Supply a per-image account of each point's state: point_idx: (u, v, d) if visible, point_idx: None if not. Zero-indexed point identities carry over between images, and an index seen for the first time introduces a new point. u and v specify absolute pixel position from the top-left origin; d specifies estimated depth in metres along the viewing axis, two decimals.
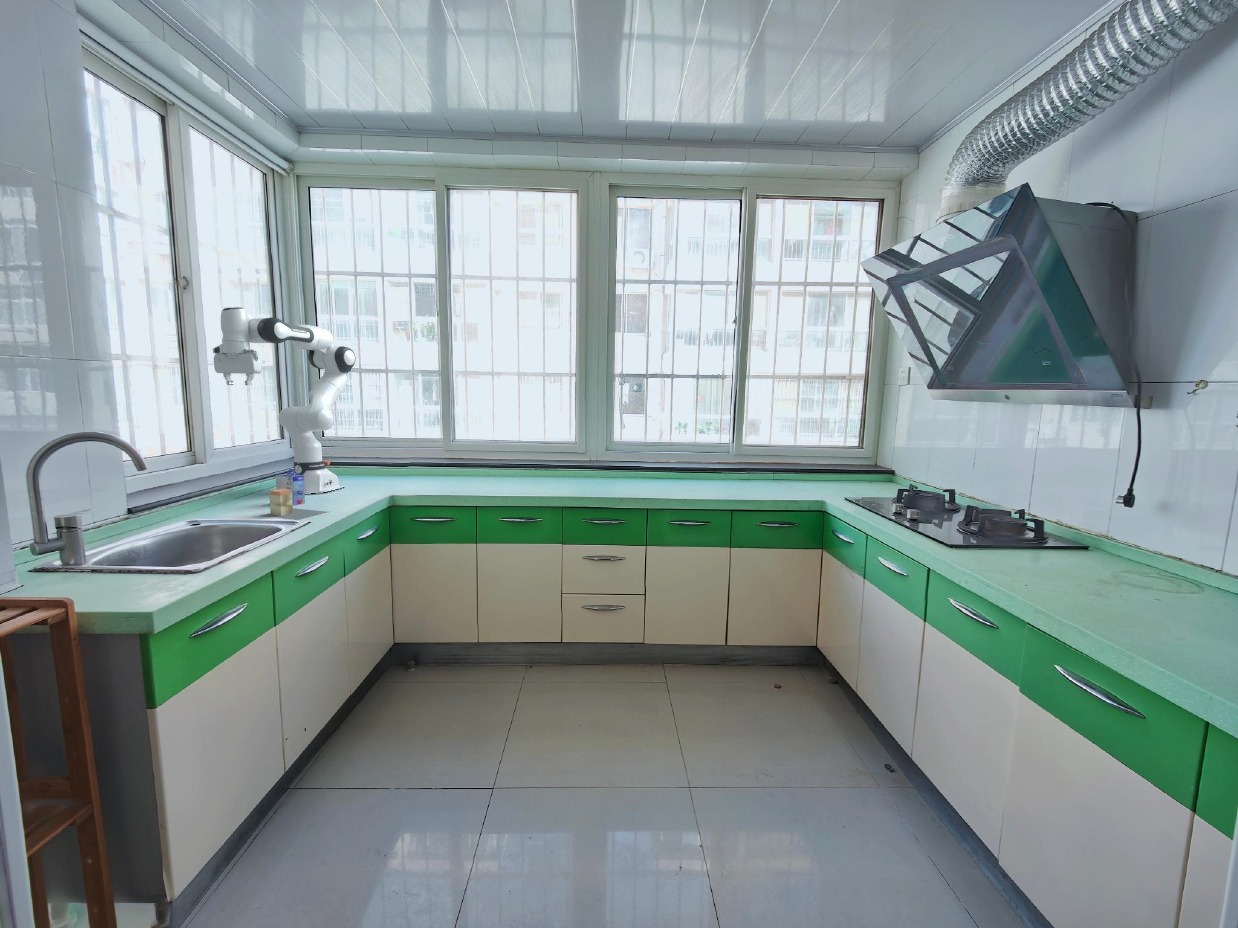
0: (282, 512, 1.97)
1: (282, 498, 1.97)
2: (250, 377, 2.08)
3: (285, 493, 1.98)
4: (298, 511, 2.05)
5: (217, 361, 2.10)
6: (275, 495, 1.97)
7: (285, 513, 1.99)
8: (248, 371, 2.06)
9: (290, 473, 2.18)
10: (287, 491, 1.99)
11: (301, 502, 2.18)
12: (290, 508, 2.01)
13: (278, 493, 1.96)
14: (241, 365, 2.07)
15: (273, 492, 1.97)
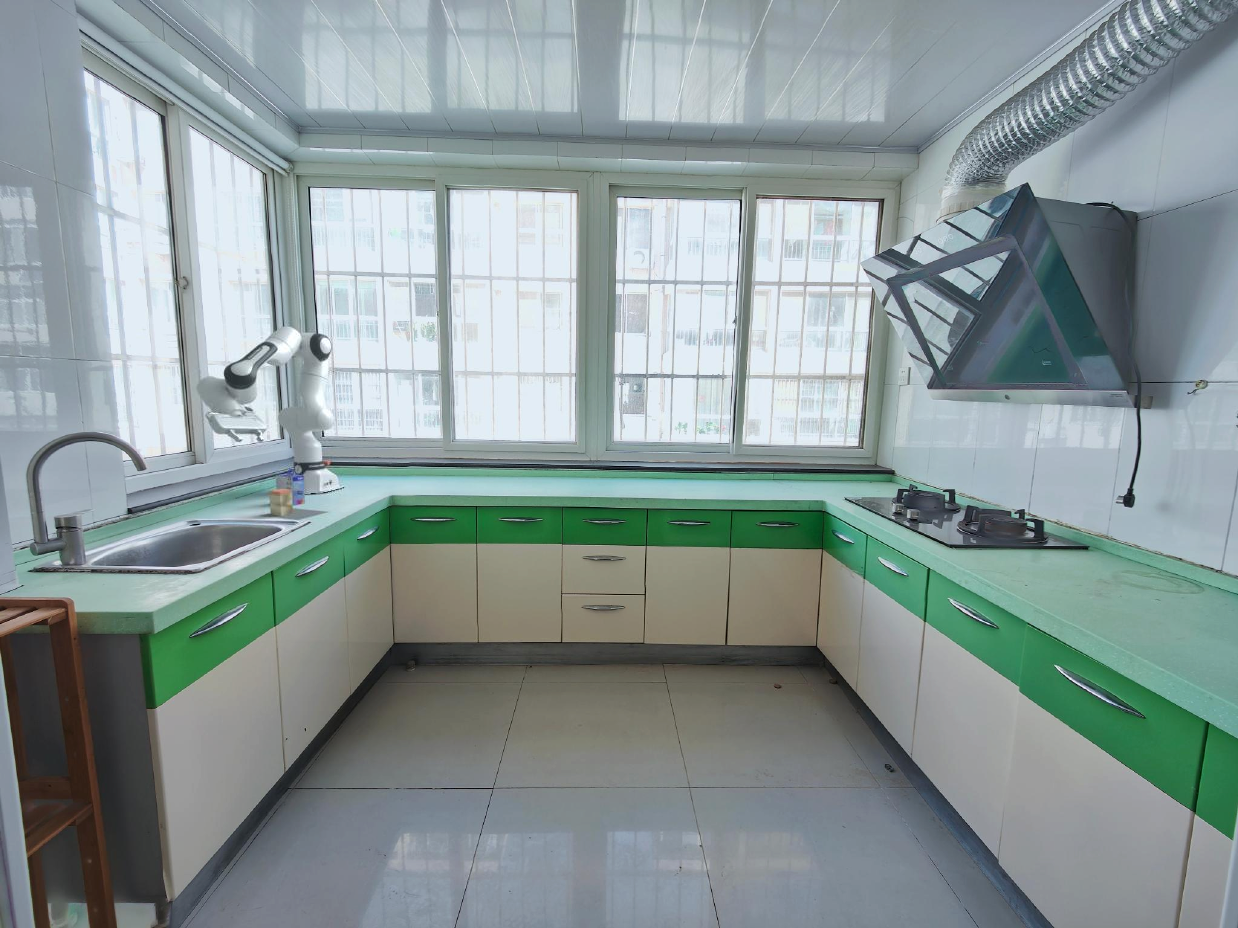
0: (282, 512, 1.97)
1: (282, 498, 1.97)
2: (230, 435, 1.94)
3: (285, 493, 1.98)
4: (298, 511, 2.05)
5: None
6: (275, 495, 1.97)
7: (285, 513, 1.99)
8: None
9: (290, 473, 2.18)
10: (287, 491, 1.99)
11: (301, 502, 2.18)
12: (290, 508, 2.01)
13: (278, 493, 1.96)
14: None
15: (273, 492, 1.97)
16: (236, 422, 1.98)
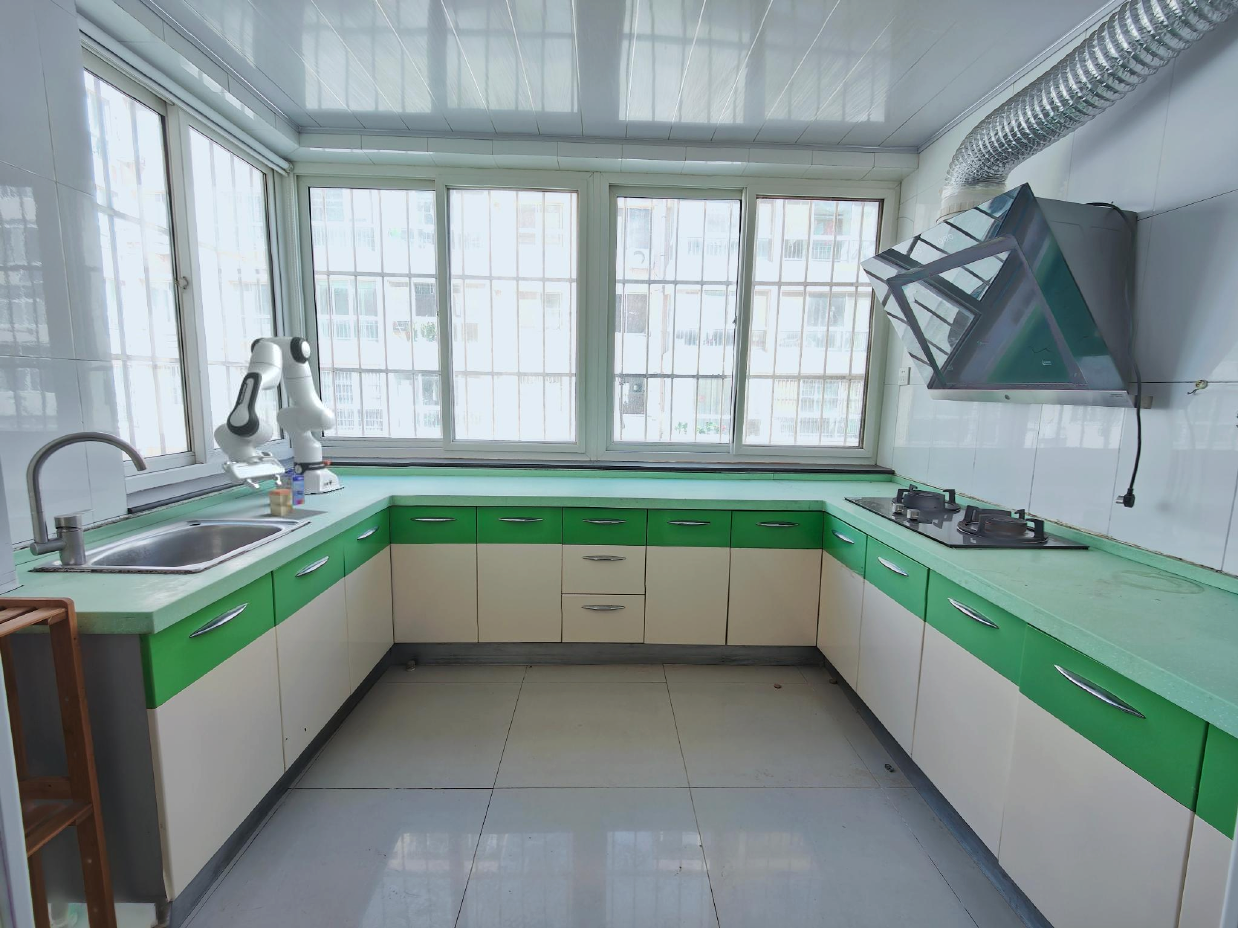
0: (282, 512, 1.97)
1: (282, 498, 1.97)
2: (247, 484, 1.94)
3: (285, 493, 1.98)
4: (298, 511, 2.05)
5: None
6: (275, 495, 1.97)
7: (285, 513, 1.99)
8: None
9: (290, 473, 2.18)
10: (287, 491, 1.99)
11: (301, 502, 2.18)
12: (290, 508, 2.01)
13: (278, 493, 1.96)
14: None
15: (273, 492, 1.97)
16: (253, 470, 1.98)
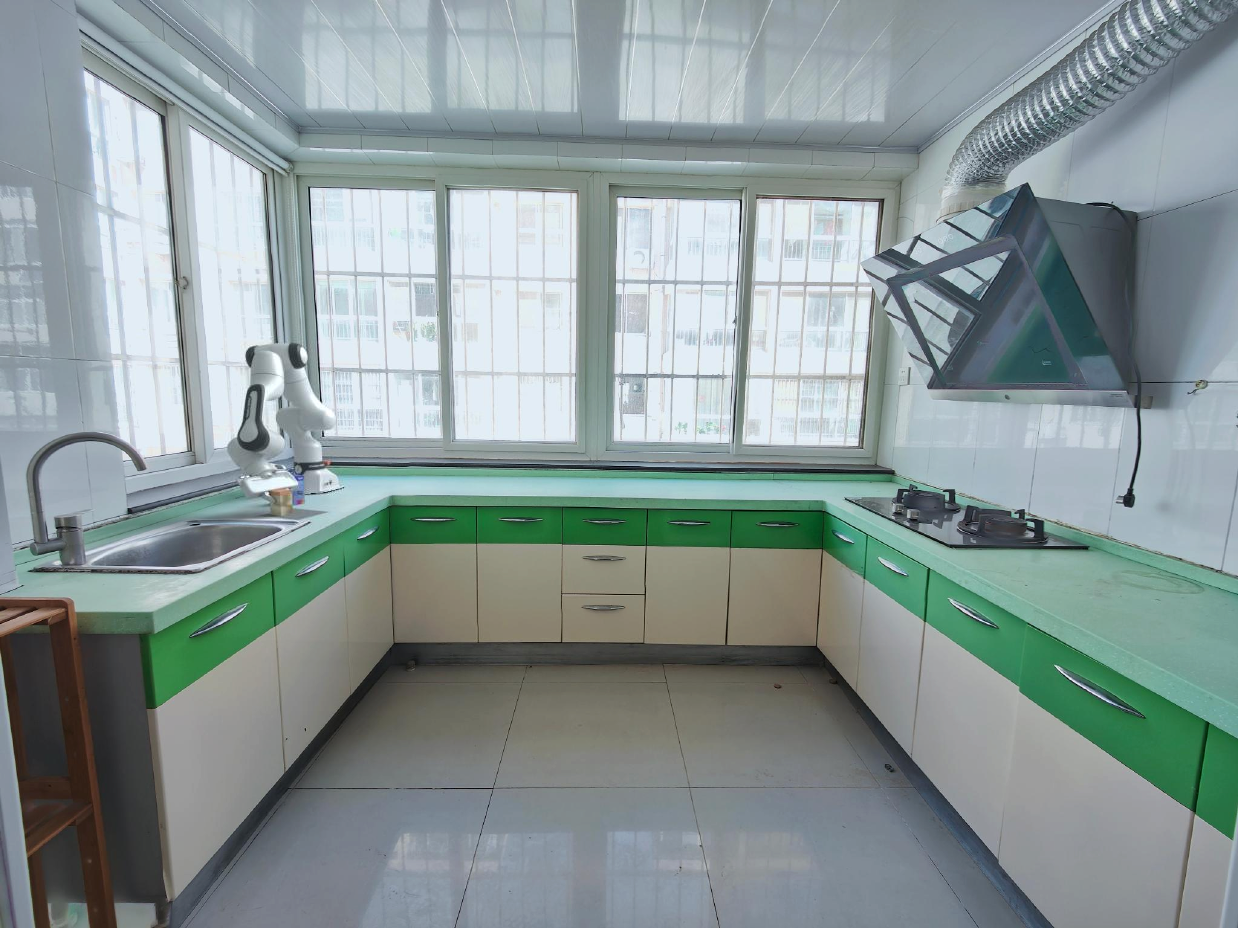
0: (282, 512, 1.97)
1: (282, 498, 1.97)
2: (265, 497, 1.95)
3: (285, 493, 1.98)
4: (298, 511, 2.05)
5: None
6: (275, 495, 1.97)
7: (285, 513, 1.99)
8: None
9: None
10: (287, 491, 1.99)
11: (301, 502, 2.18)
12: (290, 508, 2.01)
13: (278, 493, 1.96)
14: None
15: (273, 492, 1.97)
16: (267, 484, 1.97)
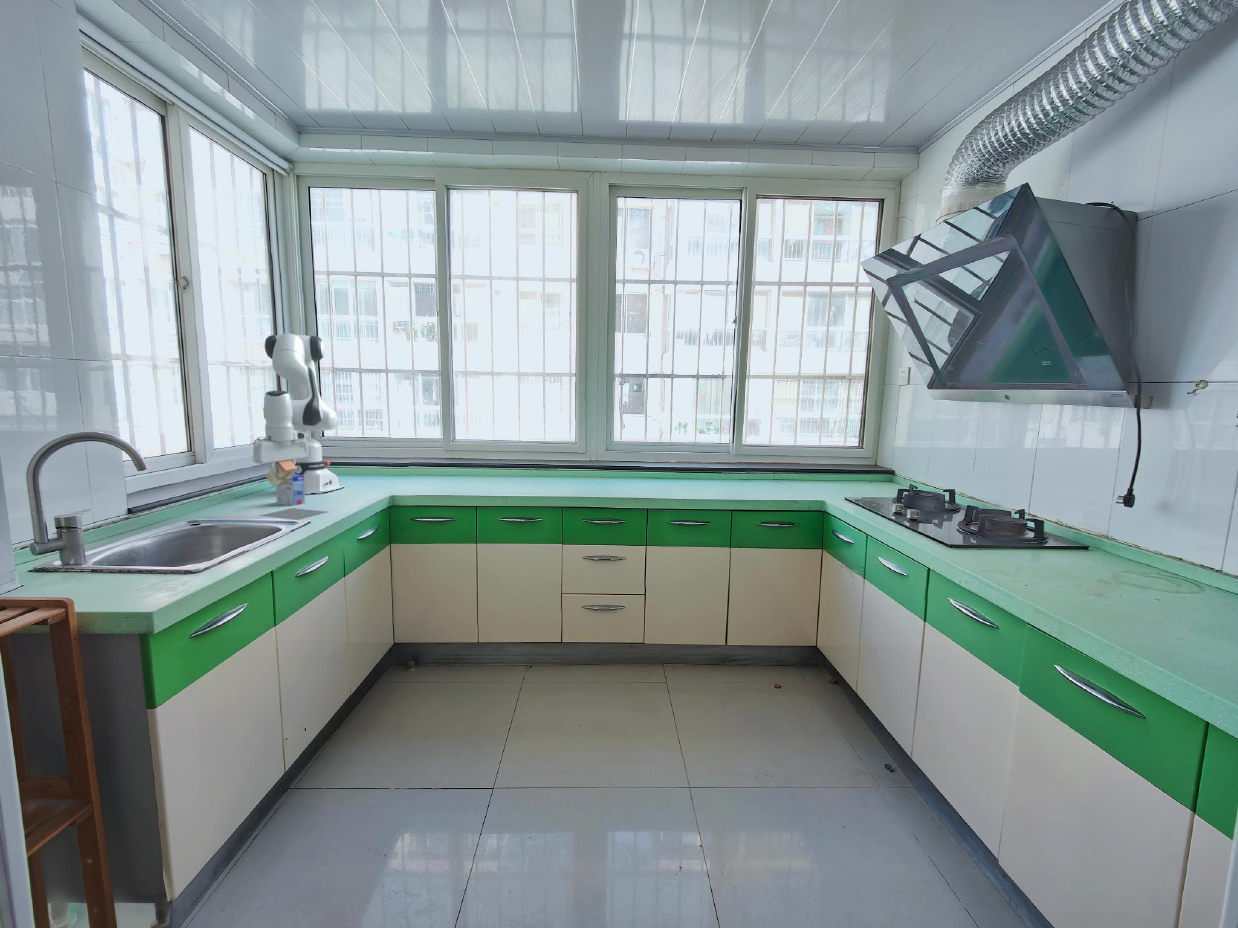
0: (276, 484, 1.97)
1: (284, 474, 1.96)
2: (270, 466, 1.93)
3: (289, 471, 1.96)
4: (298, 511, 2.05)
5: None
6: (279, 468, 1.95)
7: (278, 484, 1.98)
8: None
9: None
10: (292, 469, 1.97)
11: (301, 502, 2.18)
12: (285, 481, 2.00)
13: (283, 470, 1.94)
14: None
15: (279, 465, 1.94)
16: (279, 453, 1.94)
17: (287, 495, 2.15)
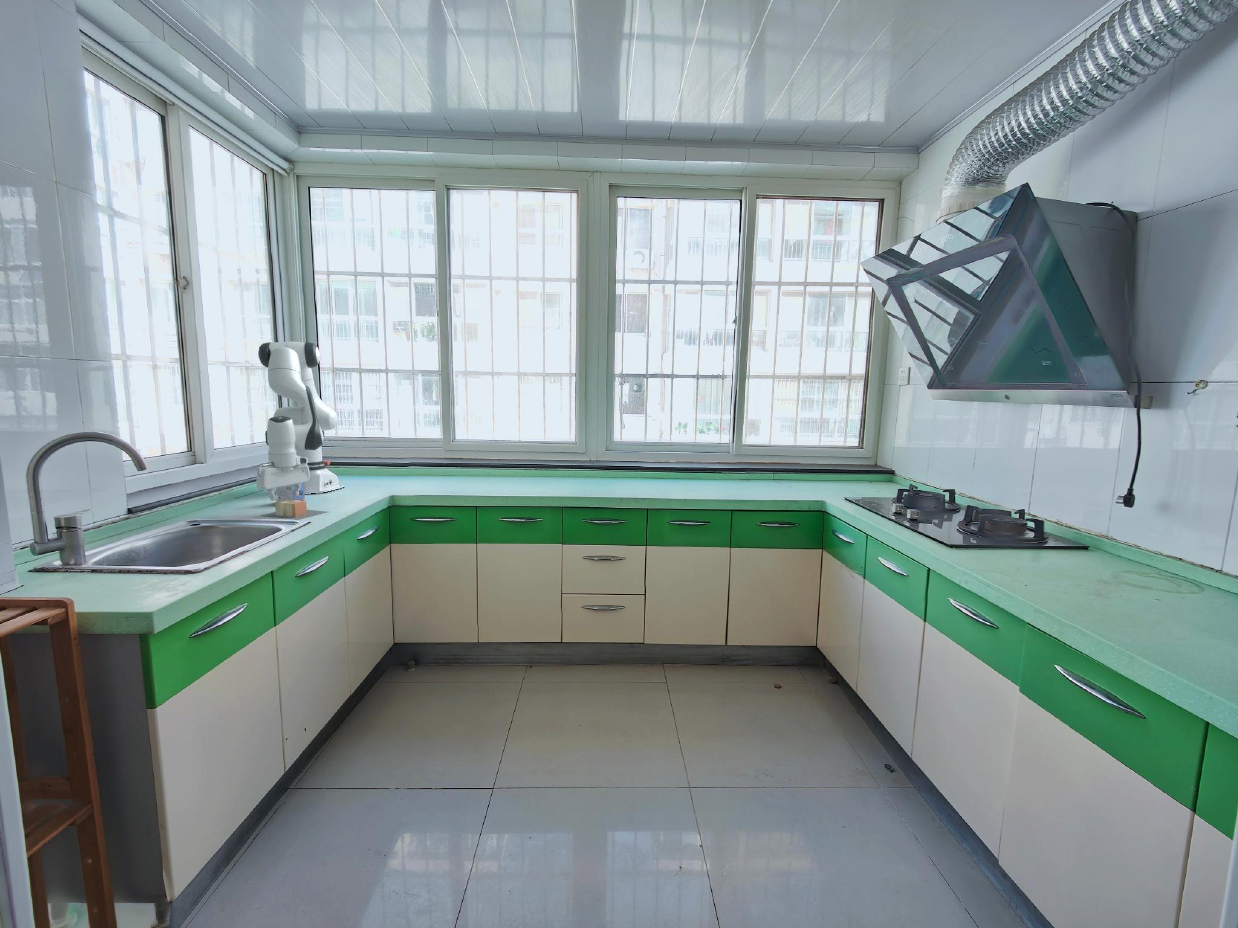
0: None
1: None
2: (269, 492, 1.92)
3: None
4: None
5: None
6: (292, 511, 1.96)
7: None
8: None
9: None
10: None
11: None
12: None
13: (294, 515, 1.96)
14: None
15: (294, 509, 1.95)
16: (282, 478, 1.95)
17: (287, 495, 2.15)
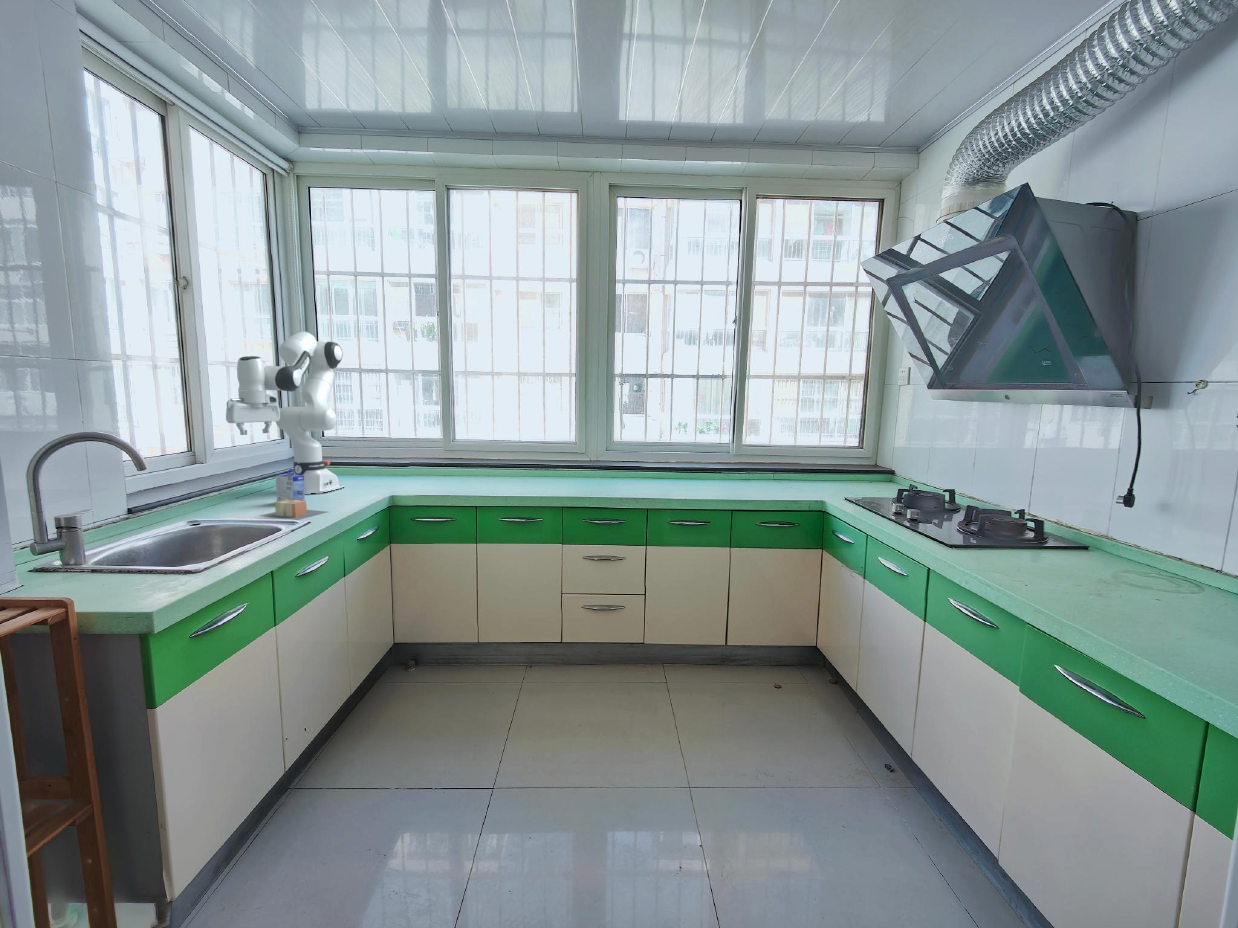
0: None
1: None
2: (238, 426, 2.03)
3: None
4: None
5: None
6: (292, 511, 1.96)
7: None
8: None
9: (290, 473, 2.18)
10: None
11: None
12: None
13: (294, 515, 1.96)
14: None
15: (294, 509, 1.95)
16: (251, 415, 2.06)
17: (288, 495, 2.15)
